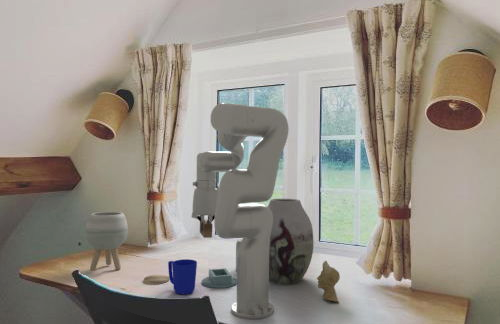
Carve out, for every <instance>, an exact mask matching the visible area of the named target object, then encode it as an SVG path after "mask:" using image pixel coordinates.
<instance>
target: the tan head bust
mask: <svg viewBox="0 0 500 324" xmlns="http://www.w3.org/2000/svg"><path fill="white" fill-rule="evenodd" d="M339 272H340V271H338V270H337V269H336V268H334V267H332V266H330V264H329V263H328V261H327V260H324V261H323V262H322V270H321V272H320V274H319V275H318V276H317V278H316V280H318V281H317V287H318V289H322V290H323V291H324V292H323V294H322V298H323V299H324V300H327V301H331V302H335V303H340V301H339V299H338V296H337V292H336V289H335V286H336V284H337V283H339V281H340V279H341V278H340V276H341V275H340V273H339Z"/></svg>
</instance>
